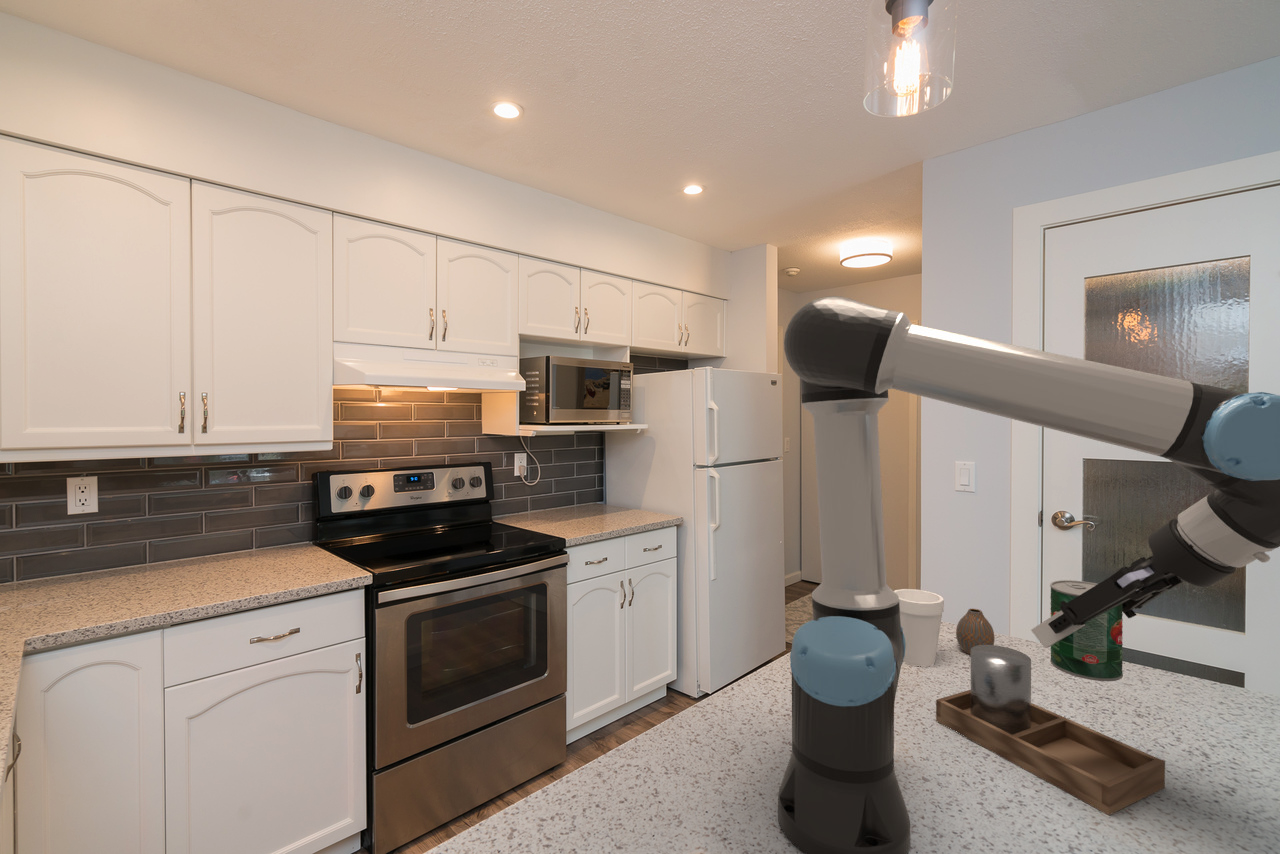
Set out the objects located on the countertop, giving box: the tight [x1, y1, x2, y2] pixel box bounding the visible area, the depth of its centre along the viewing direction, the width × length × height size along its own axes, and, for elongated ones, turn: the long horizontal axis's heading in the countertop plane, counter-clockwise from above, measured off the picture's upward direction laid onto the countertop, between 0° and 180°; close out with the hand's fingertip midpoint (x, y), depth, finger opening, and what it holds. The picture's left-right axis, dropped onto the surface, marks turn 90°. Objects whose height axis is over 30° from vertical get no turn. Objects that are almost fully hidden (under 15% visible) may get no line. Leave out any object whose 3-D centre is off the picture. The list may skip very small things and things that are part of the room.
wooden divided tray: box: [935, 689, 1166, 816], centre depth 86 cm, size 24×13×4 cm, turn 24°
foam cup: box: [893, 588, 945, 668], centre depth 117 cm, size 10×9×13 cm
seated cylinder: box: [970, 644, 1032, 735], centre depth 91 cm, size 8×8×11 cm
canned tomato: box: [1049, 579, 1124, 682], centre depth 80 cm, size 8×8×11 cm
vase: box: [955, 608, 996, 656], centre depth 121 cm, size 7×7×9 cm
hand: (1058, 633), depth 83 cm, fingers closed on canned tomato, 8 cm apart
